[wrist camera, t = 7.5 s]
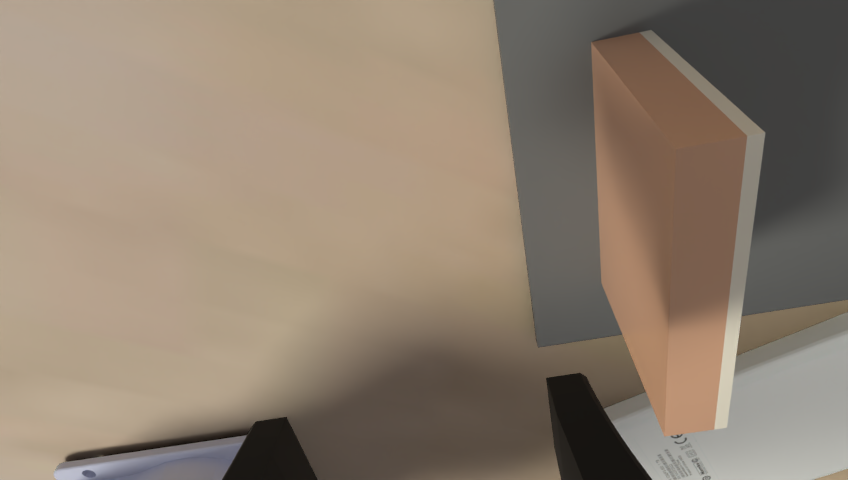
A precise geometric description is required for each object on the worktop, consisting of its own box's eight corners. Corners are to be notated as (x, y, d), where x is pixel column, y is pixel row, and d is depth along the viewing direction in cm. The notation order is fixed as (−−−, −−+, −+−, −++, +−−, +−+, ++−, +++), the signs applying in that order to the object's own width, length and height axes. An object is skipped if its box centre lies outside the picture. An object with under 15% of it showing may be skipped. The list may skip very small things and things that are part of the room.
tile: (601, 283, 20) (664, 436, 15) (591, 42, 16) (675, 148, 11) (647, 275, 20) (726, 427, 15) (651, 30, 15) (765, 132, 11)
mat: (536, 339, 22) (538, 347, 22) (484, -72, 14) (486, -69, 14) (842, 291, 21) (849, 299, 21) (960, -176, 13) (974, -176, 13)
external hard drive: (914, 411, 26) (634, 507, 29) (882, 281, 22) (561, 412, 25) (942, 443, 24) (645, 540, 28) (913, 312, 20) (570, 445, 24)
